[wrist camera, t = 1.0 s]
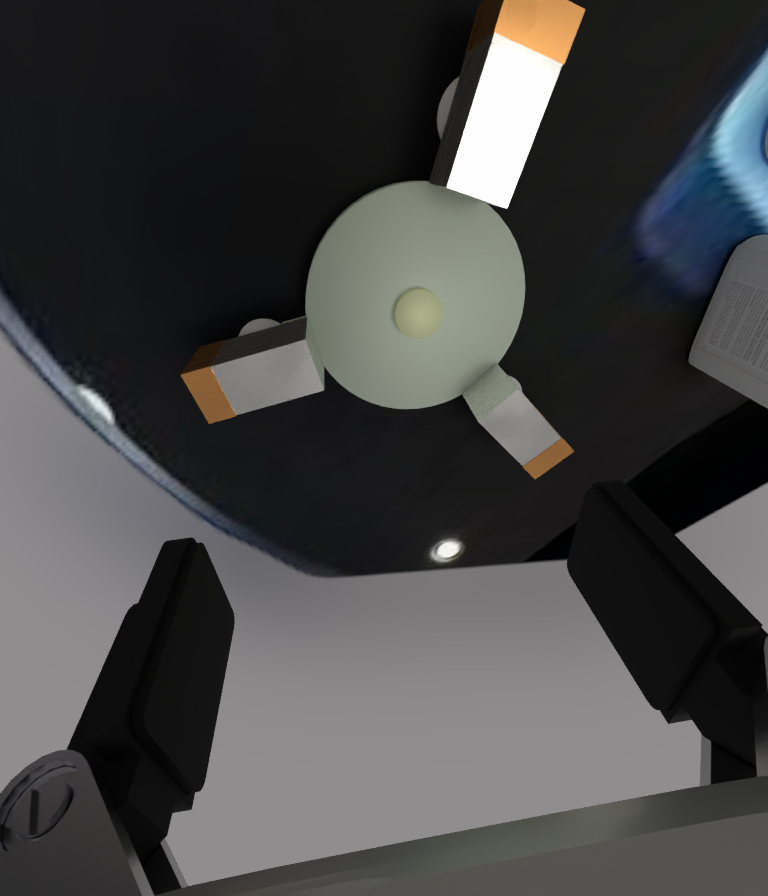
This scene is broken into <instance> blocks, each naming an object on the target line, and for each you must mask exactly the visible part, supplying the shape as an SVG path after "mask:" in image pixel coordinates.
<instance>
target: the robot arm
mask: <svg viewBox="0 0 768 896" xmlns="http://www.w3.org/2000/svg"><path fill="white" fill-rule="evenodd" d="M567 568H568V572H569V574H570V576H571V578H572V580H573V581H574V583H575V584H576V586H577V588H578V589H579V591H580V593H581V594H582V596H583V597H584V599H585V600H586V602H587V604H588V605H589V607H590V609H591V610H592V612H593V614H594V615H595V617H596V618H597V620H598V622H599V623H600V625H601V626H602V628H603V630H604V631H605V633H606V635H607V636H608V638H609V640H610V641H611V643H612V644H613V646H614V648H615V649H616V651H617V652H618V654H619V655H620V657H621V659H622V660H623V662H624V664H625V665H626V667H627V669H628V670H629V672H630V674H631V675H632V676H633V678H634V680H635V682H636V683H637V685H638V686H639V688H640V690H641V691H642V693H643V695H644V696H645V698H646V700H647V701H648V702H649V703H650V705H651V706H652V707H653V708H655V709H656V710H660V711H661V713H662V715H663V716H664V718H665V719H666V721H667V722H668V724H670V723H675V722H681V721H686V720H693V722H694V723H695V725H696V726H697V728H698V729H699V731H700V732H701V736H702V737H701V767H700V787H693V788H687V789H682V790H676V791H671V792H666V793H660V794H656V795H650V796H644V797H639V798H634V799H628V800H623V801H617V802H612V803H607V804H601V805H596V806H591V807H585V808H581V809H575V810H569V811H564V812H559V813H553V814H548V815H543V816H538V817H533V818H527V819H522V820H517V821H511V822H506V823H501V824H496V825H490V826H485V827H480V828H475V829H470V830H464V831H459V832H454V833H449V834H444V835H439V836H434V837H429V838H423V839H418V840H412V841H408V842H402V843H397V844H392V845H387V846H382V847H377V848H372V849H367V850H361V851H356V852H351V853H346V854H342V855H336V856H331V857H327V858H321V859H316V860H311V861H306V862H300V863H295V864H290V865H285V866H280V867H275V868H271V869H266V870H262V871H257V872H252V873H248V874H243V875H239V876H234V877H230V878H225V879H220V880H216V881H211V882H207V883H202V884H197V885H192V886H187V883H186V881H185V879H184V877H183V875H182V873H181V871H180V869H179V867H178V865H177V863H176V861H175V858H174V856H173V854H172V852H171V850H170V848H169V846H168V844H167V842H166V840H165V837H166V836H167V834H168V829H169V824H170V820H171V816H172V813H175V812H180V811H186V810H191V809H192V805H193V800H194V794H195V792H199V791H201V789H202V787H203V785H204V783H205V778H206V773H207V767H208V763H209V757H210V752H211V747H212V741H213V736H214V731H215V726H216V720H217V715H218V709H219V704H220V699H221V693H222V688H223V683H224V678H225V672H226V667H227V662H228V656H229V651H230V645H231V641H232V635H233V630H234V613H233V610H232V608H231V605H230V603H229V601H228V598H227V596H226V594H225V591H224V589H223V587H222V584H221V582H220V580H219V578H218V575H217V573H216V571H215V569H214V566H213V564H212V562H211V559H210V557H209V555H208V552H207V550H206V548H205V546H204V544H203V543H197V542H196V541H195V539H193V538H185V539H178V540H170V541H166V542H165V543H164V544H163V546H162V548H161V550H160V553H159V555H158V557H157V560H156V562H155V564H154V567H153V569H152V572H151V574H150V577H149V579H148V581H147V584H146V586H145V588H144V591H143V593H142V595H141V598H140V600H139V602H138V603H137V604H134V605H133V606H132V607H131V608H130V609H129V610H128V612H127V613H126V615H125V617H124V620H123V622H122V624H121V626H120V629H119V631H118V633H117V636H116V638H115V640H114V643H113V645H112V647H111V649H110V652H109V654H108V656H107V658H106V661H105V663H104V665H103V668H102V670H101V672H100V674H99V677H98V679H97V682H96V684H95V686H94V688H93V691H92V693H91V695H90V697H89V700H88V702H87V704H86V706H85V709H84V711H83V714H82V716H81V718H80V720H79V723H78V725H77V727H76V729H75V732H74V734H73V736H72V738H71V741H70V743H69V745H68V748H67V750H61V751H55V752H53V753H50V754H48V755H45V756H42V757H41V758H39V759H38V760H36V761H35V762H33V763H31V764H30V765H28V766H27V767H25V769H23V770H22V771H21V772H20V773H19V774H18V775H17V776H15V777H14V778H13V779H12V780H11V781H10V783H9V784H8V785H7V786H6V787H5V788H4V790H3V791H2V792H1V793H0V896H768V634H767V633H766V632H765V631H764V630H763V629H762V628H761V627H762V624H761V623H760V622H759V621H758V620H757V619H756V618H755V617H754V616H753V615H752V614H751V613H750V612H749V611H748V610H747V609H746V608H745V607H744V606H743V605H742V603H740V601H739V600H738V599H737V598H736V597H735V596H734V595H733V594H732V593H731V592H730V591H729V590H728V589H727V588H726V587H725V586H724V585H723V584H722V583H721V582H720V581H719V580H718V579H717V578H716V577H715V576H714V575H713V574H712V573H711V572H710V571H709V570H708V569H707V568H706V566H705V565H704V564H703V563H702V562H701V561H700V560H699V559H698V558H697V557H696V556H695V555H694V554H693V553H692V552H691V551H690V550H689V549H688V548H687V547H686V546H685V545H684V544H683V543H682V542H681V541H680V540H679V539H678V538H677V537H676V536H675V535H674V534H673V533H672V532H671V531H670V529H669V528H668V527H667V526H666V525H665V524H664V523H663V522H662V521H661V520H660V519H659V518H658V517H657V516H656V515H655V514H654V513H653V512H652V511H651V510H650V509H649V508H648V507H647V506H646V505H645V504H644V503H643V502H642V501H641V500H640V499H639V498H638V497H637V496H636V495H635V494H634V492H633V491H632V490H631V489H630V488H629V487H628V486H627V485H626V484H625V483H623V482H622V481H620V480H613V481H605V482H598V483H594V484H593V485H592V487H591V489H590V490H587V491H586V494H585V497H584V501H583V505H582V508H581V512H580V516H579V519H578V523H577V527H576V531H575V534H574V538H573V542H572V546H571V549H570V553H569V557H568V560H567Z"/></svg>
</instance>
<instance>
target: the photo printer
mask: <svg viewBox="0 0 768 896" xmlns="http://www.w3.org/2000/svg"><path fill="white" fill-rule="evenodd" d="M688 360H689V363H690V364H691V365H693V366H694V367H696V368H698V369H699V370H701V371H703V372H705V373H707V374H708V375H710V376H712V377H714V378H715V379H717V380H719V381H720V382H722V383H724V384H726V385H728V386H729V387H731V388H733V389H735V390H736V391H738V392H740V393H742V394H743V395H745V396H747V397H749V398H750V399H752V400H754V401H755V402H757V403H759V404H761V405H762V406H764V407H766V408H768V235H757V236H754V237H751V238H749V239H747V240H746V241H744V242H742V243H741V244H740V245H738V246H737V247H736V249H735V250H734V252H733V254H732V255H731V257H730V259H729V261H728V263H727V265H726V267H725V269H724V271H723V274H722V276H721V278H720V281H719V283H718V285H717V288H716V290H715V292H714V295H713V297H712V299H711V301H710V304H709V306H708V309H707V311H706V313H705V316H704V318H703V321H702V323H701V325H700V328H699V330H698V332H697V335H696V337H695V340H694V342H693V345H692V348H691V351H690V354H689V359H688Z"/></svg>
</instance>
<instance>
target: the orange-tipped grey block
mask: <svg viewBox="0 0 768 896" xmlns="http://www.w3.org/2000/svg"><path fill="white" fill-rule="evenodd" d="M462 395H463V397H464V399H465V400H466V402H467V404H468V405H469V407H470V409H471V410H472V412H473V414H474V415H475V417H476V419H477V420H478V422H479V423H480V424H481V425H482V426H483V427H484V428H485V429H486V430H487V431H488V432H489V433H490V434H491V435H492V436H493V437H494V438H495V439H496V440H497V441H498V442H499V443H500V444H501V445H502V446H503V447H504V448H505V449H506V450H507V451H508V452H509V453H510V454H511V455H512V456H513V457H514V458H515V459H516V460H517V461H518V462H519V463H520V464H521V465H522V467H523V468H524V469H525V470H526V471H527V472H528V473H529V474H530V475H531V476H532V477H533V478H534V479H537V478H538V477H539V476H541V475H542V474H544V473H545V472H546V471H548V470H549V469H550V468H552V467H553V466H555V465H556V464H557V463H559V462H560V461H562V460H563V459H564V458H566V457H567V456H569V455H570V454H571V453H573V452H574V451H573V450H572V448H571V447H570V446H569V445H568V444H567V443H566V441H565V440H564V439H563V438H562V437H561V436H560V434H559V433H558V432H557V431H556V430H555V429H554V428H553V426H552V425H551V424H550V423H549V422H548V421H547V419H546V418H545V417H544V416H543V415H542V414H541V413H540V411H539V410H538V409H537V408H535V407H534V406H533V404H532V403H531V402H530V401H529V400H528V399H527V397H526V396H525V395H524V394H523V393H522V392H521V391H520V389H519V388H518V387H517V386H516V385H515V384H514V383H513V381H512V380H511V379H510V378H509V377H508V376H507V375H506V373H505V372H504V371H503V370H502V369H501V368H500V366H499V365H498V364H497V363H496V364H495V365H493V366H492V367H491V368H490V369H489V370H488V371H486V372H485V373H484V374H483V375H482V376H481V377H479V378H478V379H477V380H476V381H475V382H474V383H472V384H471V385H470V386H469V387H468V388H467V389H465V390H464V391H463V392H462Z"/></svg>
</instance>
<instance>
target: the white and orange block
mask: <svg viewBox="0 0 768 896" xmlns="http://www.w3.org/2000/svg"><path fill="white" fill-rule="evenodd" d="M584 12H585V9H584V8H582V7H580V6H578V5H576V4H574V3H572V2H570V1H568V0H484V1H483V2H482V3H481V4H480V5H479V6H478V10H477V13H476V17H475V20H474V24H473V27H472V31H471V34H470V38H469V41H468V45H467V48H466V52H465V55H466V56H465V59H464V63H463V66H462V70H461V73H460V76H459V80H458V83H457V87H456V90H455V94H454V97H453V101H452V104H451V107H450V111H449V114H448V118H447V121H446V125H445V128H444V132H443V135H442V139H441V142H440V145H439V149H438V152H437V156H436V159H435V163H434V166H433V170H432V173H431V177H430V180H429V183H428V184H431V185H434V186H437V187H439V188H442V189H445V190H448V191H451V192H454V193H457V194H460V195H462V196H465V197H468V198H471V199H474V200H477V201H480V202H483V203H487V204H491V205H495V206H499V207H503V208H507V207H508V205H509V202H510V200H511V197H512V194H513V192H514V189H515V187H516V184H517V181H518V179H519V176H520V174H521V171H522V168H523V166H524V163H525V161H526V158H527V155H528V153H529V150H530V148H531V145H532V142H533V140H534V137H535V135H536V132H537V130H538V127H539V124H540V122H541V119H542V117H543V114H544V111H545V109H546V106H547V104H548V101H549V98H550V96H551V93H552V91H553V88H554V85H555V83H556V80H557V78H558V75H559V72H560V70H561V67H562V65H564V64H565V61H566V58H567V56H568V53H569V51H570V48H571V45H572V43H573V40H574V38H575V35H576V32H577V30H578V27H579V25H580V22H581V20H582V17H583V14H584Z"/></svg>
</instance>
